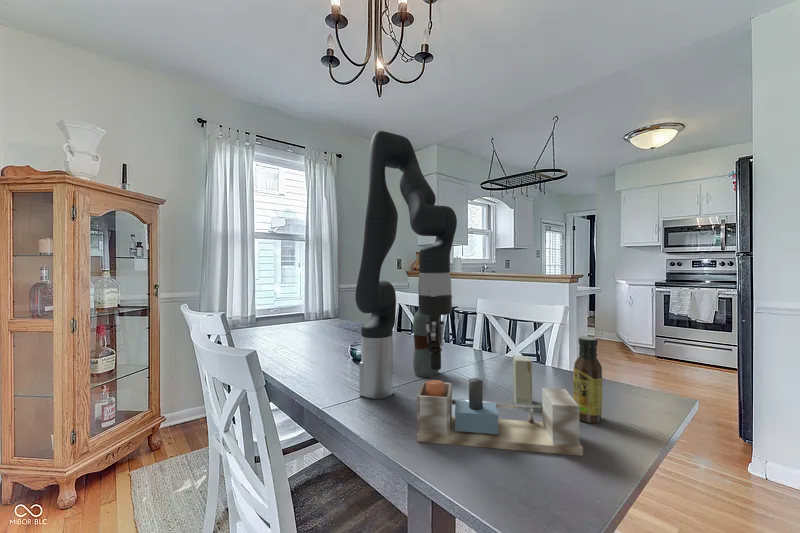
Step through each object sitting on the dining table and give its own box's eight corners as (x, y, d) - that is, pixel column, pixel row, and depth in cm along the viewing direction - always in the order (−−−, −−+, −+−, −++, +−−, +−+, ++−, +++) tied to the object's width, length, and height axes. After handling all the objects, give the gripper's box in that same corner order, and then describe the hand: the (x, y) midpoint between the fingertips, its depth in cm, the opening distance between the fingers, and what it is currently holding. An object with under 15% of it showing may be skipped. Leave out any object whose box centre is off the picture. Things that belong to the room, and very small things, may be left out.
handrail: (452, 417, 85) (451, 400, 85) (452, 415, 86) (452, 398, 86) (542, 424, 81) (542, 406, 81) (541, 421, 82) (541, 404, 82)
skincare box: (532, 407, 94) (532, 361, 94) (515, 406, 95) (515, 360, 95) (529, 399, 100) (528, 355, 100) (512, 397, 101) (512, 354, 101)
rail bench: (416, 441, 76) (416, 397, 76) (423, 419, 87) (422, 380, 87) (583, 455, 70) (582, 407, 70) (567, 430, 81) (567, 388, 81)
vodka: (435, 378, 118) (435, 288, 118) (409, 376, 122) (408, 288, 122) (442, 371, 127) (441, 287, 127) (417, 368, 130) (417, 286, 130)
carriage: (455, 430, 77) (454, 384, 77) (456, 417, 84) (455, 374, 84) (498, 434, 75) (498, 386, 75) (495, 420, 82) (495, 376, 82)
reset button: (425, 403, 79) (425, 385, 79) (427, 396, 83) (427, 379, 83) (443, 404, 79) (443, 386, 79) (444, 397, 83) (444, 380, 83)
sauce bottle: (567, 413, 90) (567, 335, 90) (591, 412, 91) (590, 334, 91) (583, 425, 84) (582, 340, 84) (608, 423, 84) (607, 339, 84)
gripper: (421, 291, 88) (423, 361, 88) (414, 295, 75) (415, 377, 75) (452, 290, 87) (453, 362, 87) (450, 294, 74) (451, 378, 74)
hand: (436, 369), depth 81 cm, fingers closed
